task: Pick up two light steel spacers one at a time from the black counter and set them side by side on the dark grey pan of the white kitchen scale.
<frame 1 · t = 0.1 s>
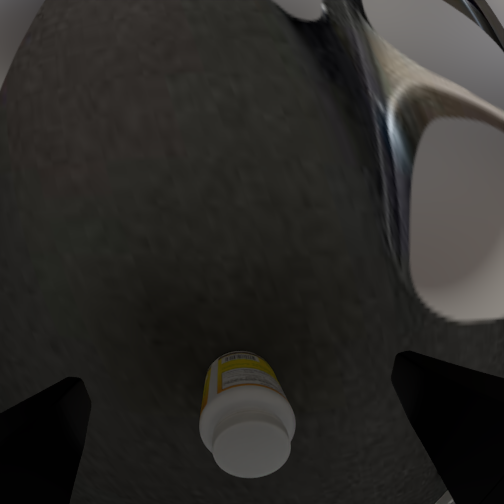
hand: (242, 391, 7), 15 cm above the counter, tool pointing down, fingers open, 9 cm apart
supplement bottle: (240, 379, 23), on the counter
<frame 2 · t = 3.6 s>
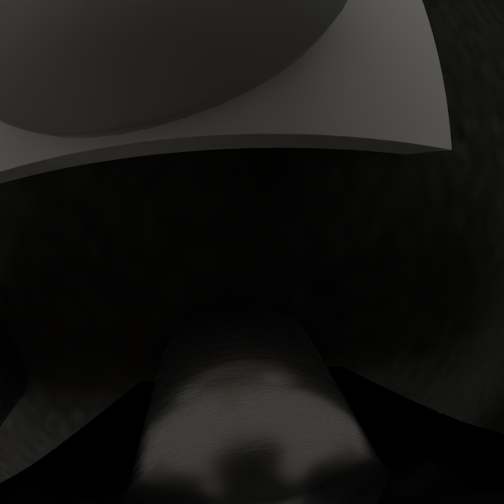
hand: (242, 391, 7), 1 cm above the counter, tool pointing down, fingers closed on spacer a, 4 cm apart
spacer a: (239, 369, 8), on the counter, touching gripper
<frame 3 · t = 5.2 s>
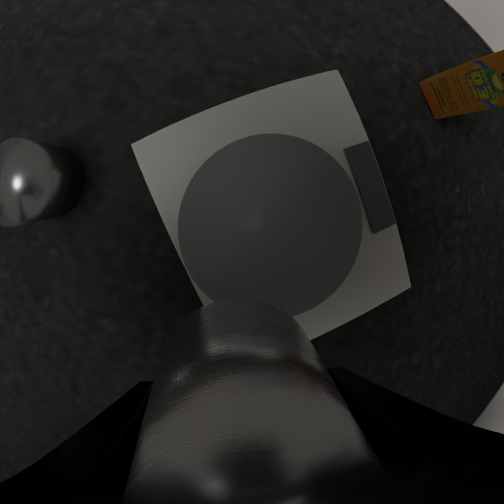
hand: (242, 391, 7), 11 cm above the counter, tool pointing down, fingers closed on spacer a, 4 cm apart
scale: (282, 217, 17), on the counter
supplement box: (435, 98, 17), on the counter
spacer a: (237, 368, 8), point 10 cm above the counter, touching gripper
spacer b: (55, 182, 15), on the counter
when the fingers open (5 cm above the counter, at t = 6.7 s): spacer a drops 1 cm, resting on scale.
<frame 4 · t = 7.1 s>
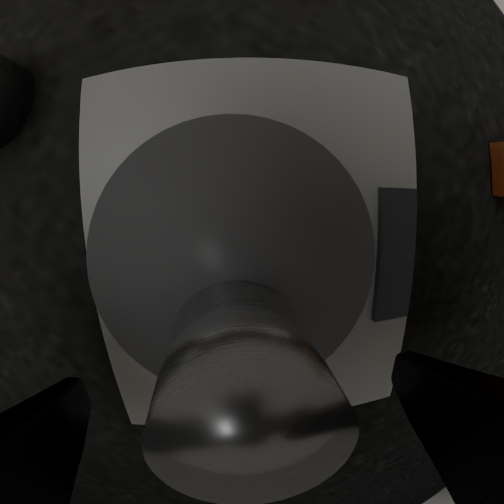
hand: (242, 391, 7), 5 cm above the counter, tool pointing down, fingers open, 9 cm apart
scale: (255, 252, 12), on the counter
supplement box: (500, 170, 12), on the counter
spacer a: (237, 342, 10), point 3 cm above the counter, touching scale
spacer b: (2, 106, 9), on the counter
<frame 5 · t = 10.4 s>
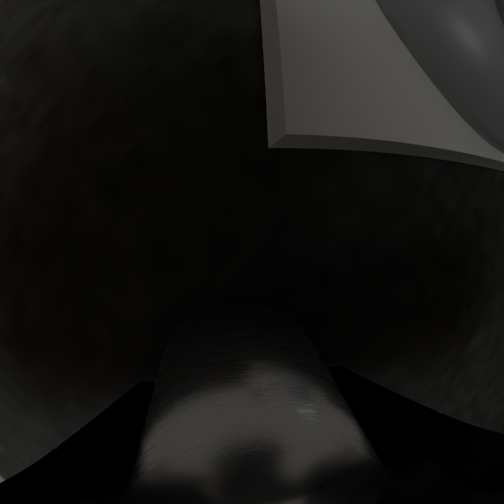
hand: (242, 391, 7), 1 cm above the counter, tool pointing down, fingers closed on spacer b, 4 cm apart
scale: (443, 14, 6), on the counter
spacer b: (239, 369, 8), on the counter, touching gripper
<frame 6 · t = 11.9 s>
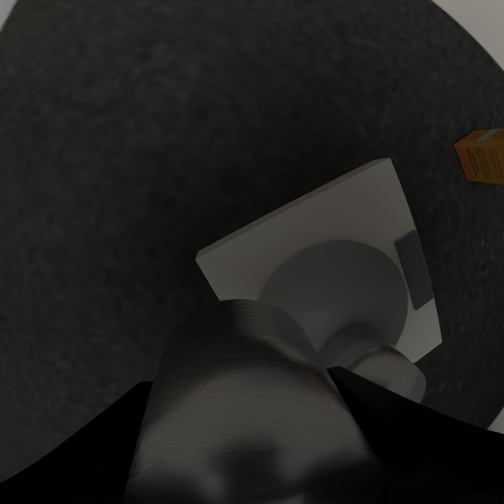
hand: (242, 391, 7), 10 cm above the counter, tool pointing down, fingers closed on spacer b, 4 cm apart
scale: (337, 300, 18), on the counter
supplement box: (467, 156, 18), on the counter
spacer a: (351, 356, 17), point 3 cm above the counter, touching scale
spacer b: (237, 368, 8), point 9 cm above the counter, touching gripper
when the fingers open (5 cm above the counter, at t = 13.4 s): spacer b drops 2 cm, resting on scale.
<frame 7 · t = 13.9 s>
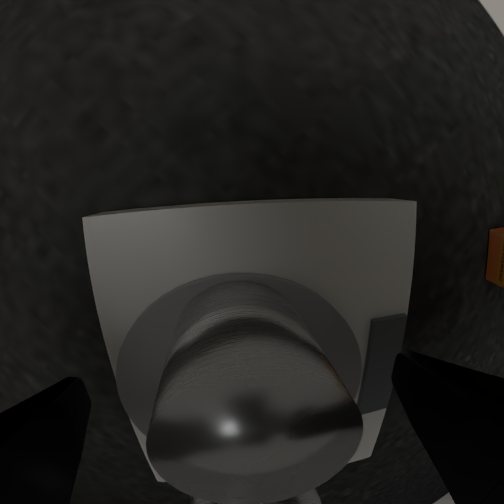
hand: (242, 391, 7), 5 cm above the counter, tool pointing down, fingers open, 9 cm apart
scale: (259, 360, 13), on the counter
supplement box: (496, 251, 14), on the counter
spacer a: (244, 439, 11), point 3 cm above the counter, touching scale
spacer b: (239, 342, 10), point 3 cm above the counter, touching scale
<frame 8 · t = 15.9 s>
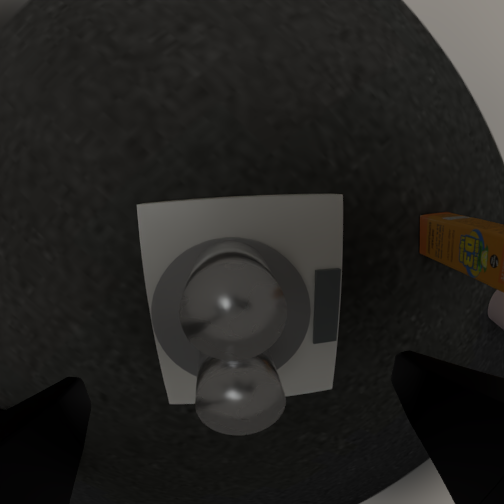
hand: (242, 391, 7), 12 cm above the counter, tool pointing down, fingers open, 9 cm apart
scale: (244, 302, 20), on the counter
supplement box: (430, 232, 21), on the counter
spacer a: (234, 354, 18), point 3 cm above the counter, touching scale
smoothie: (496, 302, 24), on the counter
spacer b: (230, 278, 17), point 3 cm above the counter, touching scale
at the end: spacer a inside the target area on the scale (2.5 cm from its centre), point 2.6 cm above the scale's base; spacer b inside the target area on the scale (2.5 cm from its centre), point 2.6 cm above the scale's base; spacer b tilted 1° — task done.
